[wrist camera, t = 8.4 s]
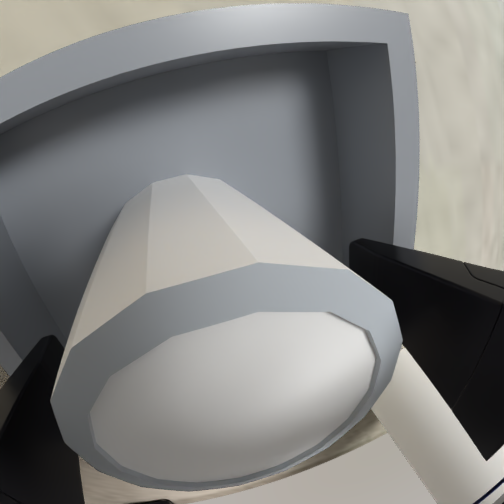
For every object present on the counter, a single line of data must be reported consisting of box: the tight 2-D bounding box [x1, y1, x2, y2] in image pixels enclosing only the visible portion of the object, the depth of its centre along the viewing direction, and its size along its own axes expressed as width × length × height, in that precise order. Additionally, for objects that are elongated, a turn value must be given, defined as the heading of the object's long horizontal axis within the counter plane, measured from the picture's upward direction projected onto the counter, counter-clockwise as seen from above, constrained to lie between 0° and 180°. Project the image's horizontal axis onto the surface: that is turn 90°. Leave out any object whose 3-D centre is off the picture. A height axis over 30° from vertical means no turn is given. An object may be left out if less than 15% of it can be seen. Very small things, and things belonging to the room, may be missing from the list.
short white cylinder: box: [50, 174, 403, 491], centre depth 8 cm, size 7×7×7 cm
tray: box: [0, 3, 419, 376], centre depth 10 cm, size 14×14×4 cm
